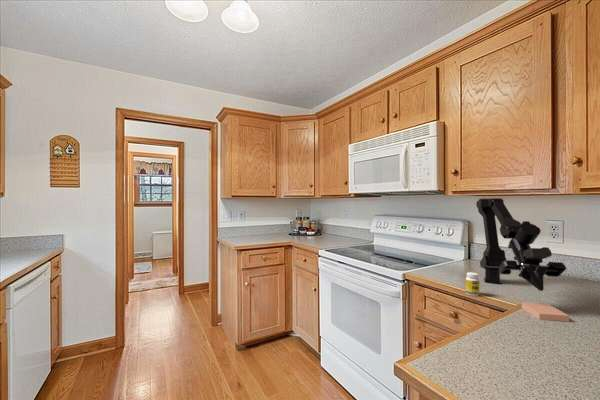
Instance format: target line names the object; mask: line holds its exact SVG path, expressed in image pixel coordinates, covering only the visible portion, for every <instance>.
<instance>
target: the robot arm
mask: <svg viewBox="0 0 600 400" xmlns="http://www.w3.org/2000/svg"><path fill="white" fill-rule="evenodd" d="M504 202H505V201H504V199H503V198H500V197H499V198H498V197H495V198H493V197H492V198H479V199H478V200H476V203H475V205H476V208H477V211H478V213H479V214H480V215H481V217H482V219H483V228H484V235H485V236H484V237H485V243H486V244H485V245H486V248H485V249H484V251H483V253H482V254H483V256H482V257H481V259H480V262H479V266H480V268H482V269H483V270H484V277H483V281H484V283H491V284H497V285H502V284H503V282H502V281H501V275H510V274H511V273H512V271H518V273H519V274H518V277H519V278H522V279H523V280H525V281H527V282H528V283H529V284H531V285H532V286H533V287H535V288H536V289H537V290H538V291H540V292H543V291H544V275H545V276H547V277H553V278H554V277H555V278H557V277H560V276H561V275H563V273H564V272H565V271H566V270H567V267H566V265H565V264H564V262H561V261H548V263H546V265H545V264H543V265H542V263H543V262H544V261H543V260H544V259H547V258H549V257H552V256H553V253H552V251H551V249H550V247H549V246H547V247H546V246H543V247H541V248H540V247H539V248H536V247H535V248H534V247H533V248H532V247H531V245H533V244H534V242H535V241H536V240H537V238H538V237H539V235H541V228H540V227H538V226H537V225H535V224H533V223H531V222H530V221H526V220H523V221H522V222H520V221H518V220H516V219H515V218H513V216H512V214H511V213H510V211H509V210H508V207H507V206H506V204H505V203H504ZM496 219H497V220H498V222H499V224H500V226H499V227H500V228H499V231H500V235H501V236H502V238H503V239H506V240H507V239H510V240H509V242H508V246H507V248H508V249H511V250H512V253H513V255H514V256H513V259H514V260H509V259H507V257H506V252H505V250H504V249H502V248H501V247H500V244H499V237H498V230H497V222H496ZM540 264H541V265H540Z"/></svg>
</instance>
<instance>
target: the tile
mask: <svg viewBox="0 0 600 400" xmlns="http://www.w3.org/2000/svg"><path fill="white" fill-rule="evenodd" d="M521 308H522V309H523V310H525V311H526V312H528V313H529V314H530V315H532V316H534V317H535V318H536V319H538V320H544V321H545V320H546V321H552V322H553V321H554V322H555V321H556V322H567V323H568V322H570V315H569V314H566V313H564V312H563V311H561V310H560V309H558V308H556V307H554V306H552V304H549V303H540V302H539V303H538V302H526V301H521Z"/></svg>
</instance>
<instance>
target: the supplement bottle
mask: <svg viewBox="0 0 600 400" xmlns="http://www.w3.org/2000/svg"><path fill="white" fill-rule="evenodd" d="M465 293H466V295H468V296H472V297H473V296H474V297H478V296H479V295H480V278H479V274H478V273H476V272H470V271H469V272H466V277H465Z"/></svg>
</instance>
